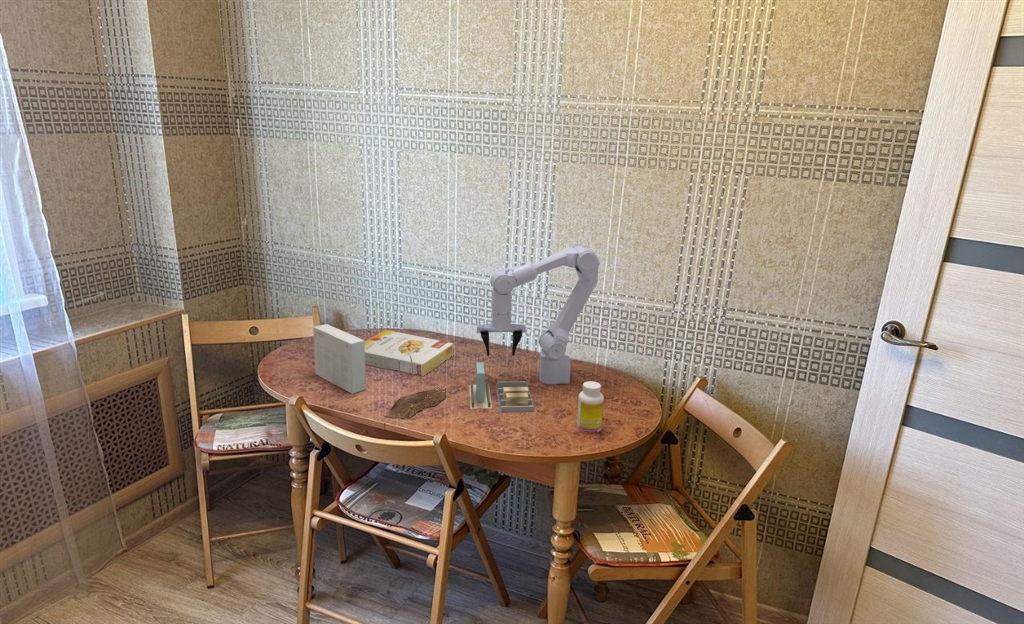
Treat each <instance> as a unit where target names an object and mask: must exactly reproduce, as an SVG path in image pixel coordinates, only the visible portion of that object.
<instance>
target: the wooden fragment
mask: <svg viewBox="0 0 1024 624" xmlns="http://www.w3.org/2000/svg"><path fill="white" fill-rule="evenodd" d="M438 388H439V387H437V388H431V389H428V390H427V389H426V390H423V391H418V392H414V393H412V394H408V395H405V396H402V397H401V398H398V399H397V400H396V402H394V404H392V406H391V408H389V410H388V411H387V412H386V414H384V418H387V419H392V420H398V419H397V418H401V419H400V420H406V419H405V418H410V417H411V418H413V416H415V415H416V414H417V413H420V412H422V411H423V410H425V409H427V408H432V407H436V406H437V405H439V404H440V402H441V401H444V400H446V398H447V387H446V388H445V389H442V390H439V389H440V388H439V389H438ZM436 389H438V390H439V391H438V390H436ZM442 391H445V392H442ZM427 395H428V396H427ZM425 397H426V398H425ZM424 408H425V409H424ZM419 411H420V412H419ZM411 418H410V419H411Z"/></svg>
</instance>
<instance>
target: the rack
mask: <svg viewBox="0 0 1024 624" xmlns="http://www.w3.org/2000/svg"><path fill="white" fill-rule="evenodd" d="M503 387H528V406H506V400H503ZM495 391H496V396H497V404H498V412H499V413H527V412H528V413H531V412H532V413H536V409H535V405H534V402H533V399H532V394H531V390H530V387H529V383H528V381H527V380H526V381H525V380H522V381H521V380H518V381H511V380H510V381H497V383H495Z"/></svg>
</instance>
